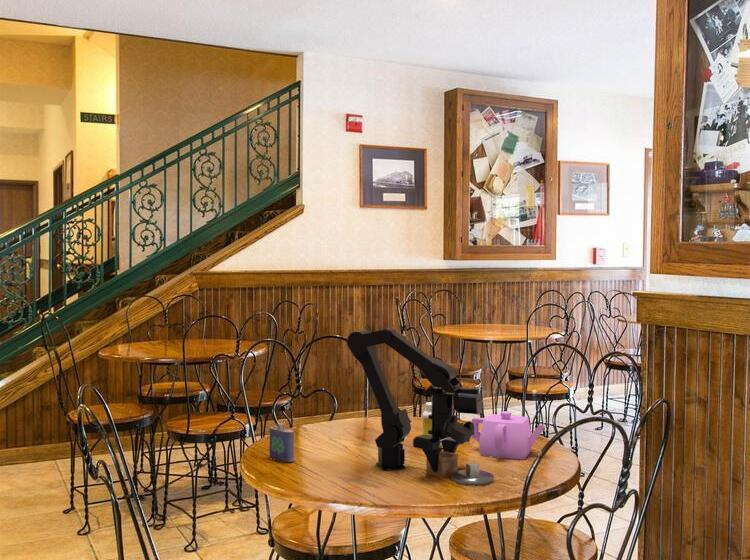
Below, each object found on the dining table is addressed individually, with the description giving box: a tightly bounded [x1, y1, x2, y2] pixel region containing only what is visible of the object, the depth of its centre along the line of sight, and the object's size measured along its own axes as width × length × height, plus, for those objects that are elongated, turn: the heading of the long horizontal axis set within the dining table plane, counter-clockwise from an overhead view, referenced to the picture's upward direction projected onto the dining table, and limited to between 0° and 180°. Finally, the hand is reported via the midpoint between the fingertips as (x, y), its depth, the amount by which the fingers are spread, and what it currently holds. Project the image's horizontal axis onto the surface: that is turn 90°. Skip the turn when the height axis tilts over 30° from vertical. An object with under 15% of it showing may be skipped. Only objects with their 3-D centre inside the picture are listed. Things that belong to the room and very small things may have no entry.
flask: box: [268, 422, 295, 463], centre depth 208 cm, size 9×3×11 cm, turn 50°
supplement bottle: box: [421, 401, 442, 447], centre depth 226 cm, size 7×7×13 cm
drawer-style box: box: [426, 450, 459, 478], centre depth 196 cm, size 6×6×5 cm
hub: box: [450, 462, 495, 487], centre depth 190 cm, size 11×11×4 cm
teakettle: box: [471, 410, 546, 460], centre depth 216 cm, size 17×17×12 cm
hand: (442, 469), depth 196 cm, fingers closed on drawer-style box, 6 cm apart
